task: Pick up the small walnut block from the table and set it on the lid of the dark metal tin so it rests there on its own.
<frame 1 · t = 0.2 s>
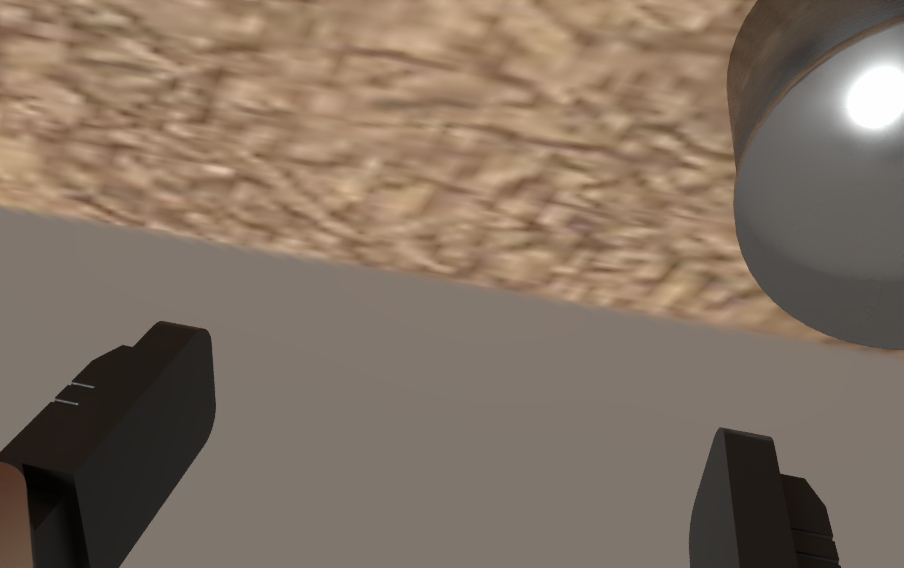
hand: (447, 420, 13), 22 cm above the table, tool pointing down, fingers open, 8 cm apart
metal tin: (875, 72, 30), on the table
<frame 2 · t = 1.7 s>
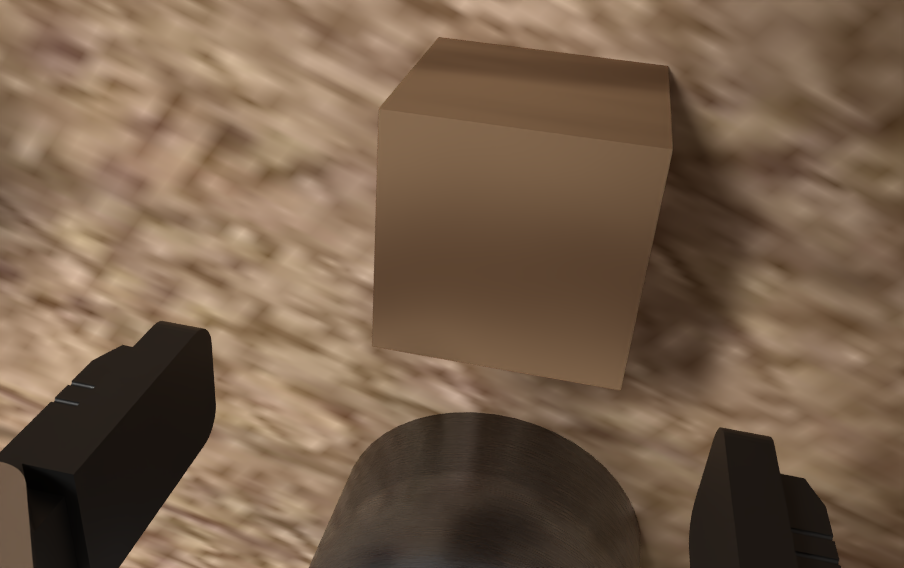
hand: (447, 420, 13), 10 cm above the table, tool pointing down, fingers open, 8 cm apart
walnut block: (537, 157, 22), on the table
metal tin: (487, 530, 29), on the table
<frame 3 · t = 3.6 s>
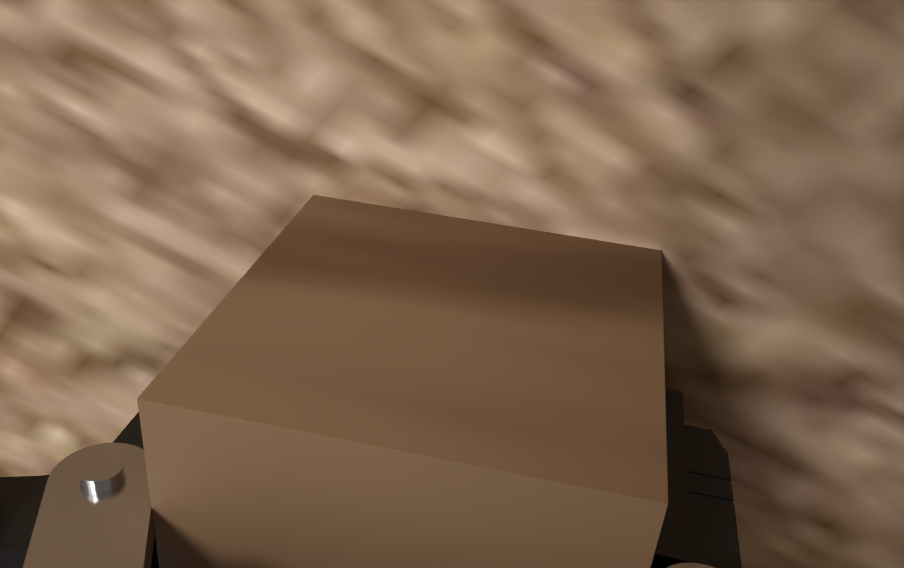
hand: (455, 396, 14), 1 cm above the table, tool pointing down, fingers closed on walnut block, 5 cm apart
walnut block: (467, 366, 15), on the table, touching gripper
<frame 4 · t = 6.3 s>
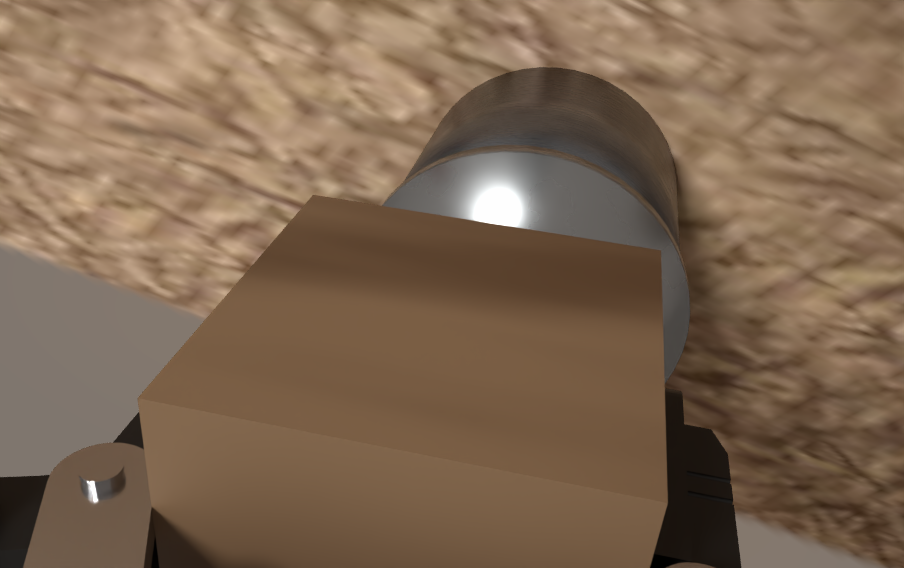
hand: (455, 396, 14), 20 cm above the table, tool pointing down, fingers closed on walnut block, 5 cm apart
walnut block: (466, 366, 15), point 19 cm above the table, touching gripper
metal tin: (546, 191, 34), on the table
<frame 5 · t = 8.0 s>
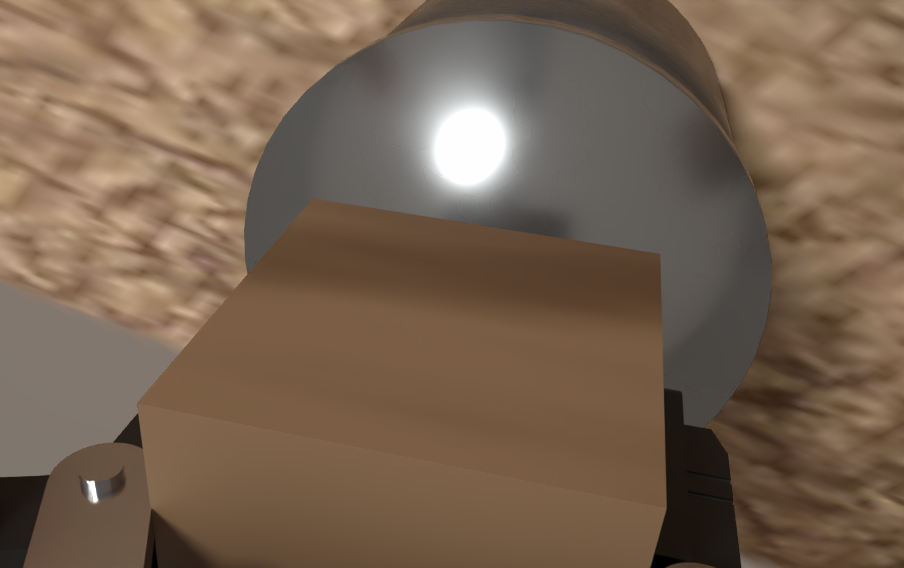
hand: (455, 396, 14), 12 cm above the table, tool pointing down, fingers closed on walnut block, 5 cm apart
walnut block: (466, 369, 15), point 12 cm above the table, touching gripper
metal tin: (542, 138, 25), on the table
when the fingers open (10 cm above the table, at t = 9.3 s): walnut block stays where it is, resting on metal tin.
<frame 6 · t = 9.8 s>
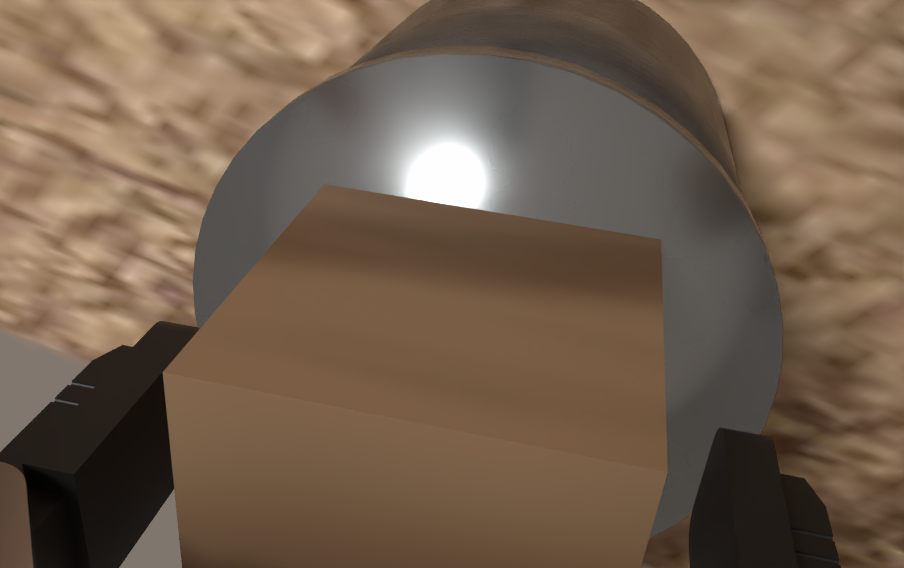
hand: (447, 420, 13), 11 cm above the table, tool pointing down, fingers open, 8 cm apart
walnut block: (471, 351, 15), point 9 cm above the table, touching metal tin
metal tin: (530, 167, 23), on the table, touching walnut block
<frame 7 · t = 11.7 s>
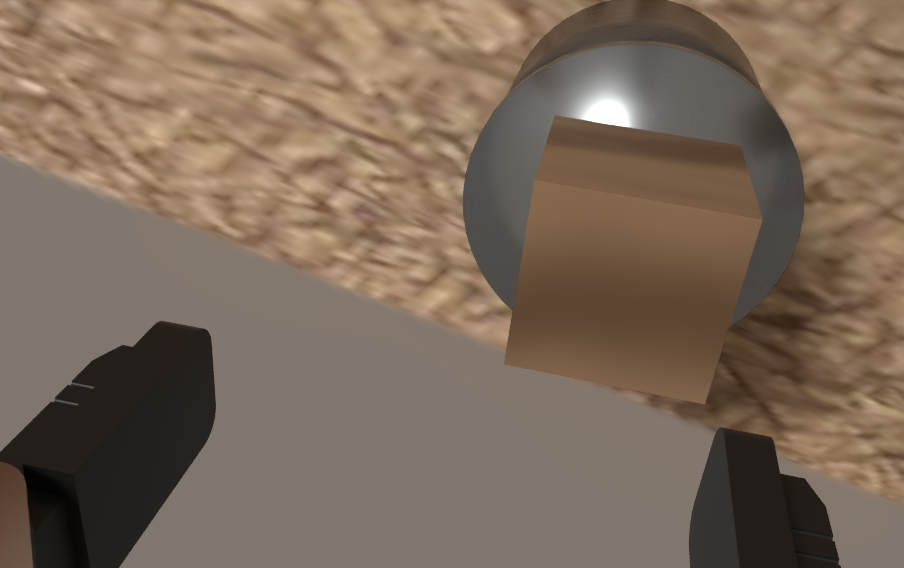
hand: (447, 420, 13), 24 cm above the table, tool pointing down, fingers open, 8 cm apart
walnut block: (627, 213, 27), point 9 cm above the table, touching metal tin
metal tin: (630, 126, 35), on the table, touching walnut block
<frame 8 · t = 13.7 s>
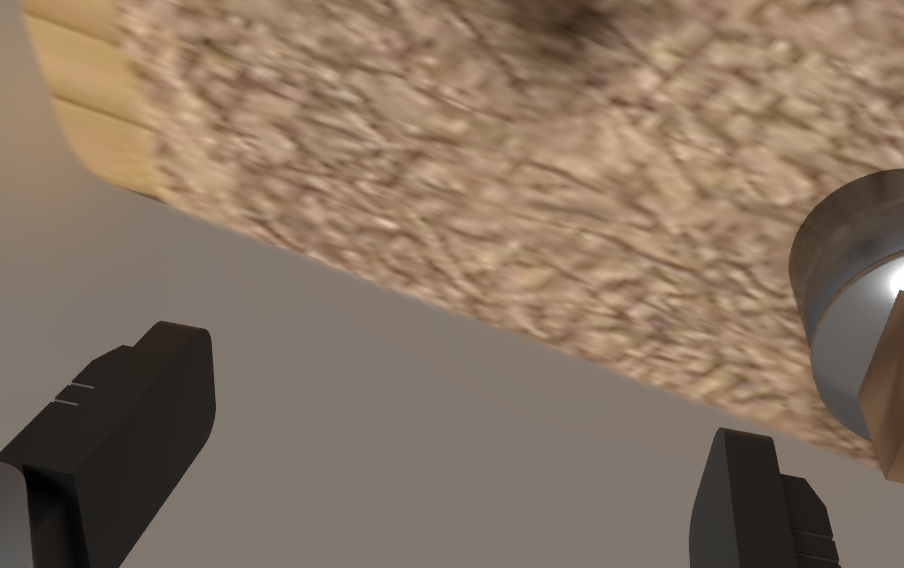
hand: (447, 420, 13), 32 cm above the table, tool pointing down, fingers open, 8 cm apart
metal tin: (892, 260, 44), on the table, touching walnut block
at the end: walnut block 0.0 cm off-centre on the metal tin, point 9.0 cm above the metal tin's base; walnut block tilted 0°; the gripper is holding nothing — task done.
